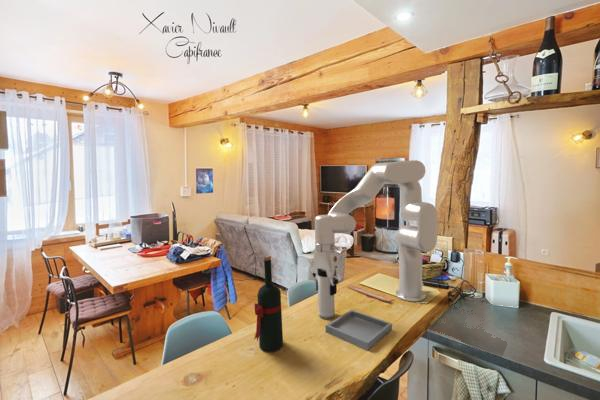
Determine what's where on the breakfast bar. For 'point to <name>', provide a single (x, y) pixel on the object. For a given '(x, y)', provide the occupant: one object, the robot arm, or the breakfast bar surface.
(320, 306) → the travel mug
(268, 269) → the wine bottle
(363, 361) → the breakfast bar surface
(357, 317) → the tray
